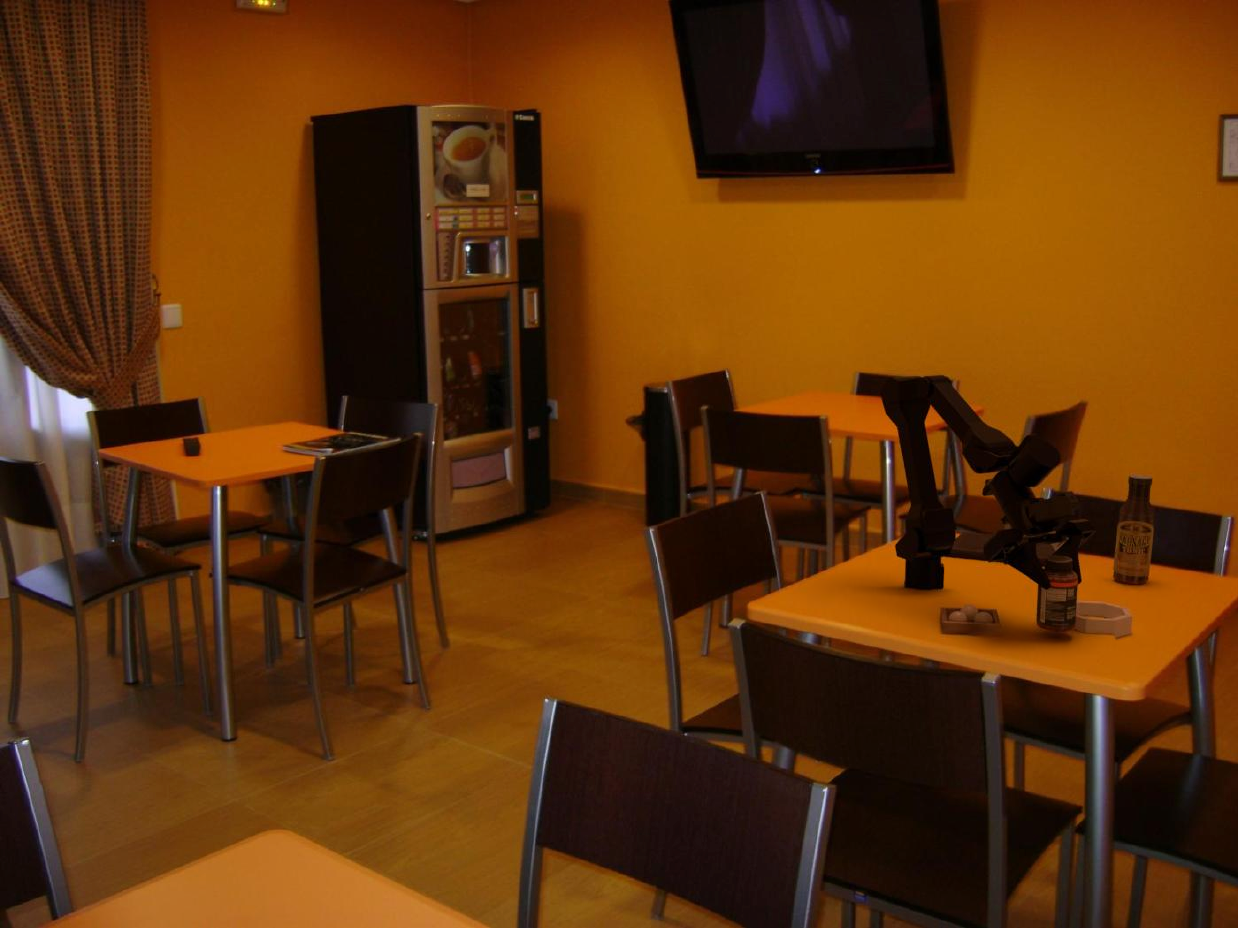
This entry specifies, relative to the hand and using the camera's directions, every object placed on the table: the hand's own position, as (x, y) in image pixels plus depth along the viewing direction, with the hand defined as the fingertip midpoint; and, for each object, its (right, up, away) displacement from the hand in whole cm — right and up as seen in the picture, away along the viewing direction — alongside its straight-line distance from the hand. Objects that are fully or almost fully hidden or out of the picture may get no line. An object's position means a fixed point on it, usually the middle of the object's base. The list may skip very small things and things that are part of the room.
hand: (1064, 585), depth 199 cm
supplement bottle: (0, -7, +3) cm, 7 cm away
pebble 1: (-15, -8, +7) cm, 18 cm away
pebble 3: (-11, -8, +6) cm, 15 cm away
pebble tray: (-12, -8, +8) cm, 17 cm away
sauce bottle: (+25, -3, +37) cm, 45 cm away
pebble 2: (-12, -7, +10) cm, 17 cm away
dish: (+8, -8, +9) cm, 14 cm away
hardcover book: (+10, 0, +58) cm, 59 cm away
